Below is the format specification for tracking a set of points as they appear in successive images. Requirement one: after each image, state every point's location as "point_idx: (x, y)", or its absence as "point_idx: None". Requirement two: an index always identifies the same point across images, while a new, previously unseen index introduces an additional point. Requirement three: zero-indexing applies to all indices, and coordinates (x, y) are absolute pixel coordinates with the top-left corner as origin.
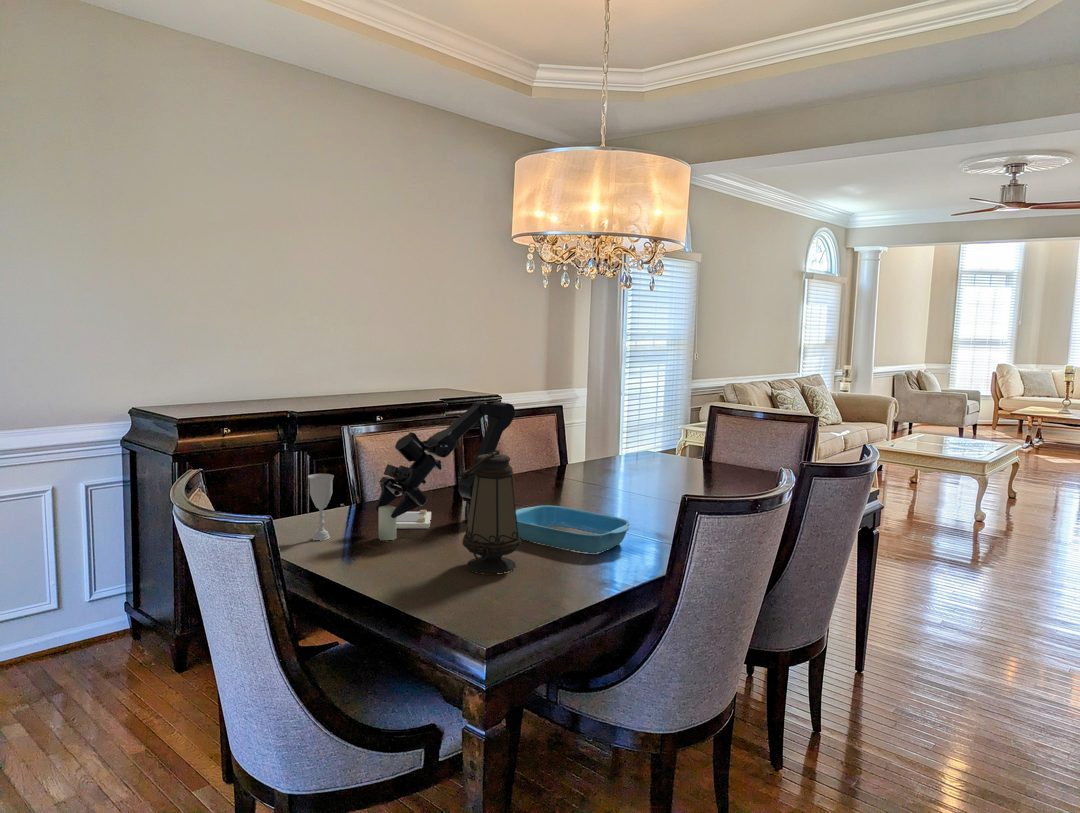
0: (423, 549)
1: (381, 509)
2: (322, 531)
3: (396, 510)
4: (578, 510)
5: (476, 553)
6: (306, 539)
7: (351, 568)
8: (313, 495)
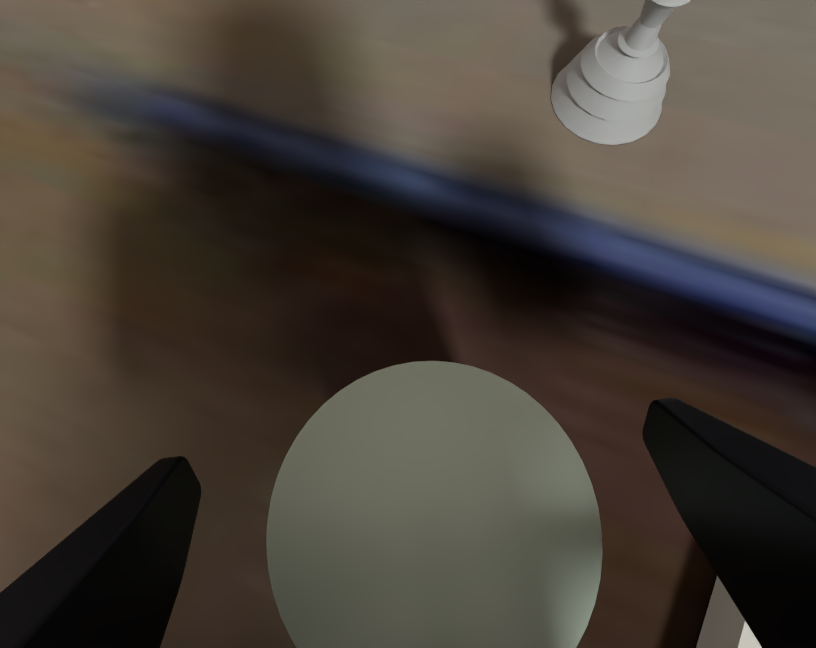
0: None
1: (377, 379)
2: (605, 51)
3: (48, 564)
4: None
5: None
6: None
7: (11, 86)
8: None
